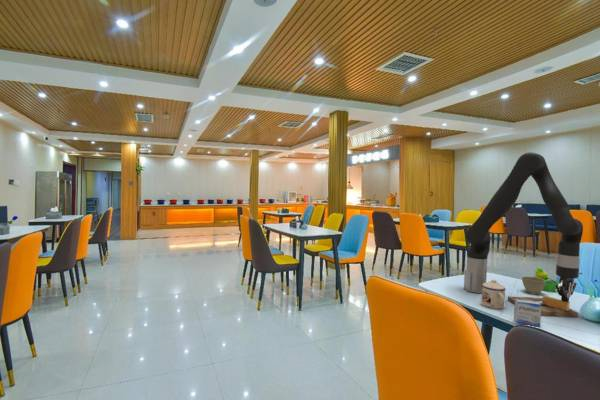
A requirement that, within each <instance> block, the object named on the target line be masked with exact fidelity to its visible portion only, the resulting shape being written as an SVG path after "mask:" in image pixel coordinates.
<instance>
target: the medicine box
mask: <svg viewBox="0 0 600 400" xmlns="http://www.w3.org/2000/svg"><path fill="white" fill-rule="evenodd" d="M513 309H514V312H513V313H514V314H513V320H514V321H515V322H516V324H519V325H520V324H521V325H526V326H532V327H541V317H542V316H541V304H540V303H539V302H537V301H529V300H521V299H515V305H514V307H513Z"/></svg>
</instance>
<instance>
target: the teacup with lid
mask: <svg viewBox="0 0 600 400" xmlns="http://www.w3.org/2000/svg"><path fill="white" fill-rule="evenodd" d="M482 286H483V290H482V293H481V294H482V295H481V304H482V305H483V306H484V307H486V306H487V308H489V307H490V309H494V308H495V309H494V310H496V309H497V310H500V309H502V310H503V309H504V308H505V298H506V295H505V294H506V289H507V288H506V287H505V286H504V285H502V284H500V283H499V282H497V280H496V279H491V281H488V282H486V283H483V285H482Z"/></svg>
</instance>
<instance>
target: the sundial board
mask: <svg viewBox="0 0 600 400" xmlns="http://www.w3.org/2000/svg"><path fill="white" fill-rule="evenodd" d="M515 299H521V300H529V301H534V299H540V300H543V297H532V296H531V297H529V296H507V302H508V303H511V304H513V305H514V306H515ZM541 317H558V318H559V317H560V318H579V312H578V311H576V310H573V309H571V308H569V310H568V311H566V310H563V309H559V308H556V307H552V306H549V305H541Z"/></svg>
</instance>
